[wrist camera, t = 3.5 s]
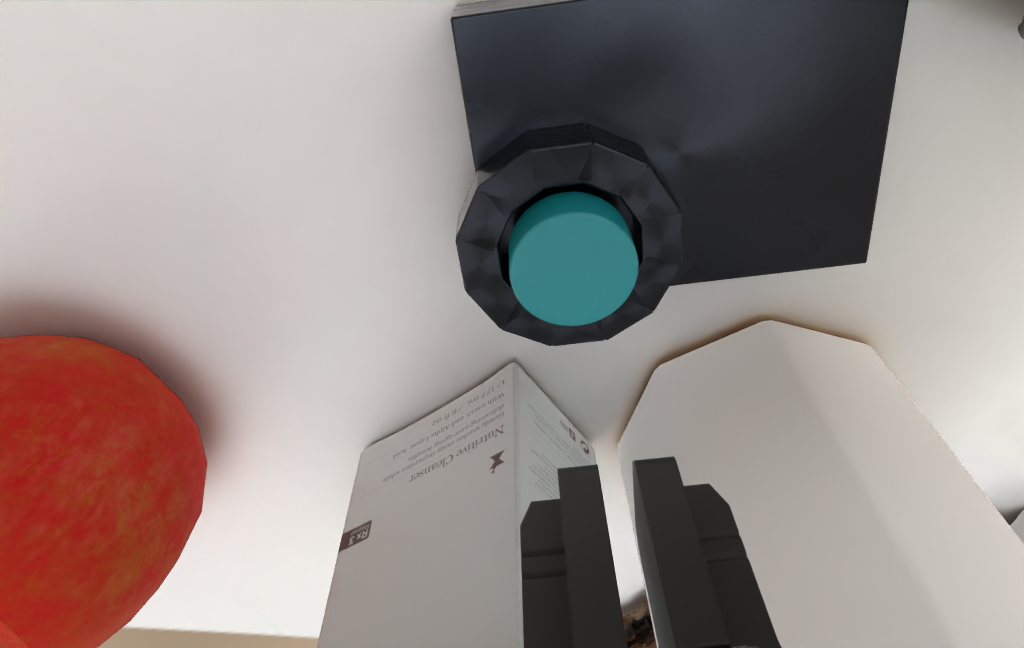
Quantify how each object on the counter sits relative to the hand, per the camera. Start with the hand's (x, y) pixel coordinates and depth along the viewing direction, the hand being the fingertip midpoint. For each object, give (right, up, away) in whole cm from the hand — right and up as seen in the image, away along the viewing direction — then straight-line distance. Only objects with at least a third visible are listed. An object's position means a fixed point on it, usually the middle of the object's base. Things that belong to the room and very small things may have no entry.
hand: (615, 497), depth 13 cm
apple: (-19, -1, +16) cm, 24 cm away
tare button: (0, +5, +8) cm, 10 cm away
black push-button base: (+3, +9, +10) cm, 14 cm away
